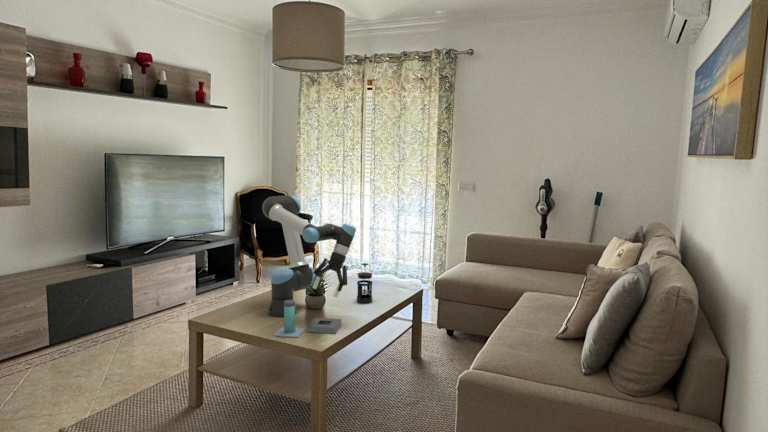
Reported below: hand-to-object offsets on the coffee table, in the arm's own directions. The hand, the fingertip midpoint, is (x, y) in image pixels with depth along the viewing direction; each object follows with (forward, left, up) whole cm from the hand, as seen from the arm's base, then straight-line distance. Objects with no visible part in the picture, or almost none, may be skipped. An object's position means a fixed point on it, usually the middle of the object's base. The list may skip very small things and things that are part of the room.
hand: (324, 292), depth 270 cm
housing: (+2, -5, -17) cm, 18 cm away
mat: (-13, -15, -17) cm, 26 cm away
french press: (+13, +46, -17) cm, 50 cm away
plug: (-13, -15, -16) cm, 26 cm away
